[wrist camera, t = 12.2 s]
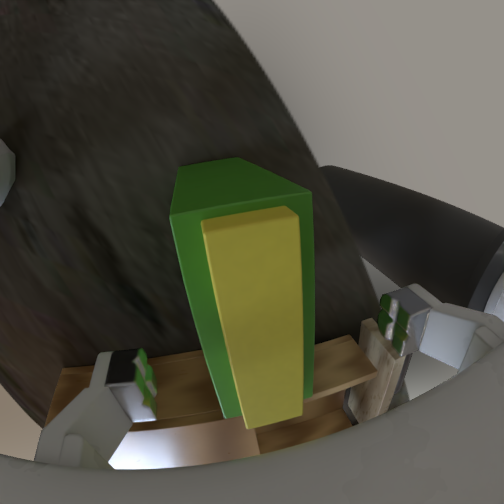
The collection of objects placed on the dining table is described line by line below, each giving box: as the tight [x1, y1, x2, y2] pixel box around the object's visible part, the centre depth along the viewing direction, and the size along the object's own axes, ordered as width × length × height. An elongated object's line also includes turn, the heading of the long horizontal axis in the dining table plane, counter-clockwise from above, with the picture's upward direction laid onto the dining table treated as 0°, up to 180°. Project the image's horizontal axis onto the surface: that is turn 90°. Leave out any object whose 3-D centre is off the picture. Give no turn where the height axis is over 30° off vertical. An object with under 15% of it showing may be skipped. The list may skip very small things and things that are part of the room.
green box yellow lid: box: [169, 157, 315, 429], centre depth 15 cm, size 4×9×13 cm, turn 7°
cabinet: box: [44, 350, 261, 469], centre depth 23 cm, size 17×15×8 cm
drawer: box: [255, 318, 412, 454], centre depth 25 cm, size 20×14×6 cm
